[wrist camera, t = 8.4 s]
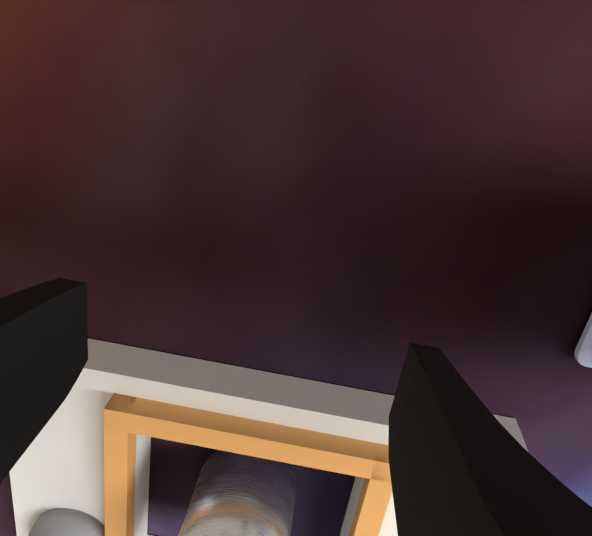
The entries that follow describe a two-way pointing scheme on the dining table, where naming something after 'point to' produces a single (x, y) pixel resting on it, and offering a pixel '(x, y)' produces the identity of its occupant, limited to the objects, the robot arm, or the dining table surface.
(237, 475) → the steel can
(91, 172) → the dining table surface
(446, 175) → the dining table surface
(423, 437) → the robot arm
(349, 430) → the white flat frame
